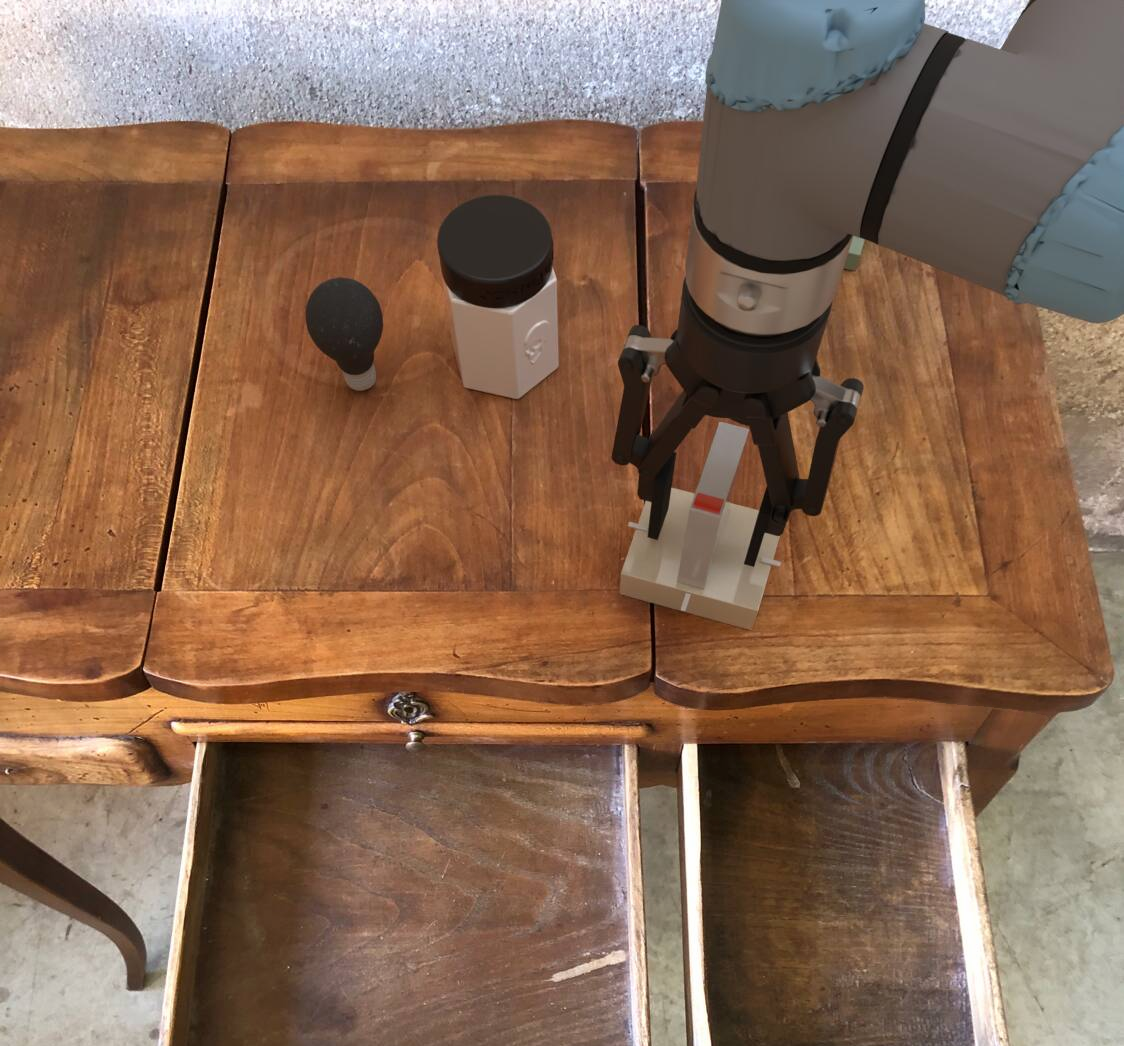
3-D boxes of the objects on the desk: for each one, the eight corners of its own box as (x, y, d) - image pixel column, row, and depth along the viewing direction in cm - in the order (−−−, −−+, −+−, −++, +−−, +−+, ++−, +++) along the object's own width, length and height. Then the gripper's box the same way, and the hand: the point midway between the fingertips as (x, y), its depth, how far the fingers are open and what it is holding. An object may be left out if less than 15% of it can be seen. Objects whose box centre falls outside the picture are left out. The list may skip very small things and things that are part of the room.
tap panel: (790, 523, 79) (799, 499, 76) (754, 652, 75) (761, 632, 72) (647, 486, 80) (650, 461, 77) (604, 610, 76) (605, 589, 73)
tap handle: (703, 500, 76) (719, 418, 67) (730, 508, 76) (750, 426, 67) (676, 581, 74) (689, 507, 65) (704, 589, 73) (721, 515, 65)
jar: (499, 418, 82) (487, 304, 71) (430, 359, 84) (408, 239, 73) (580, 354, 84) (581, 233, 73) (511, 298, 87) (501, 172, 75)
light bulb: (313, 386, 84) (280, 291, 74) (364, 345, 85) (338, 246, 76) (361, 425, 82) (333, 334, 73) (412, 383, 84) (391, 287, 74)
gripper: (551, 294, 52) (558, 543, 74) (936, 391, 50) (827, 619, 71) (597, 186, 54) (591, 458, 76) (966, 274, 52) (852, 528, 74)
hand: (705, 535), depth 74 cm, fingers open, 6 cm apart
